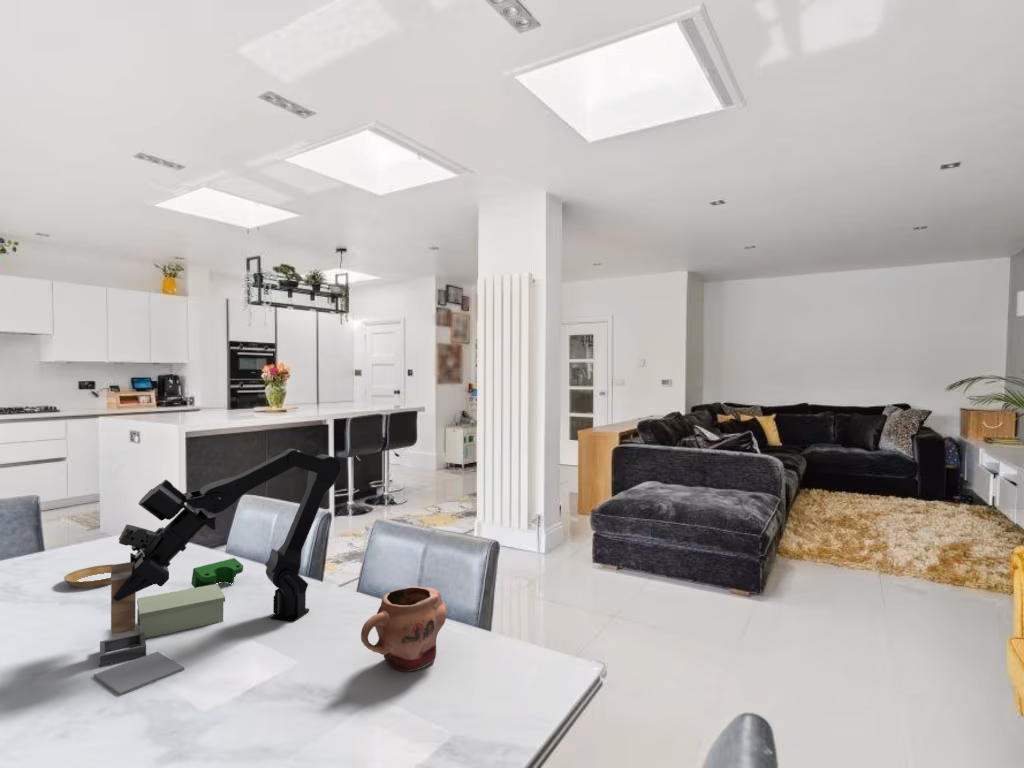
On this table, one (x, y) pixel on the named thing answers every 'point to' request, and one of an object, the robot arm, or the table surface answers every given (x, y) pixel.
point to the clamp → (216, 573)
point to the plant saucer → (90, 571)
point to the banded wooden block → (122, 600)
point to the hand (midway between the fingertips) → (115, 596)
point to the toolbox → (180, 610)
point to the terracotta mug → (407, 627)
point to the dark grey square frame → (122, 654)
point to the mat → (138, 673)
